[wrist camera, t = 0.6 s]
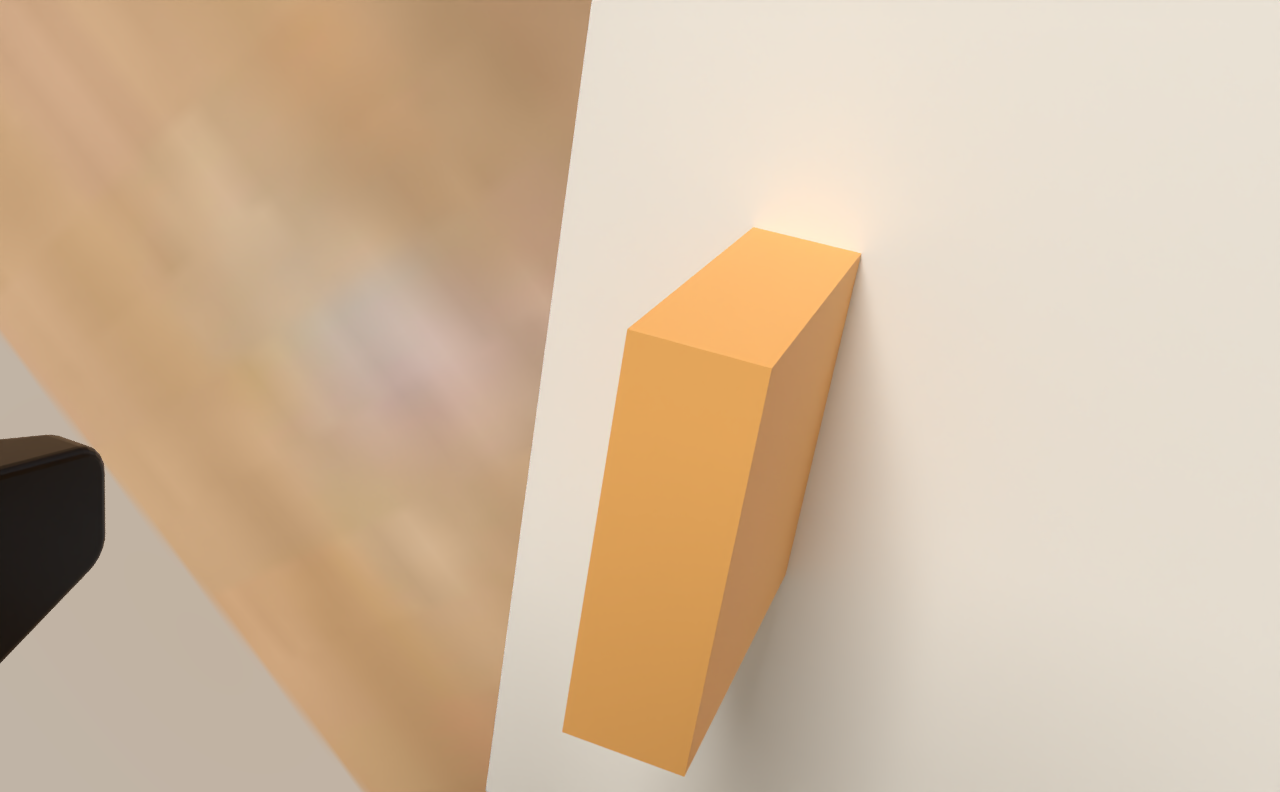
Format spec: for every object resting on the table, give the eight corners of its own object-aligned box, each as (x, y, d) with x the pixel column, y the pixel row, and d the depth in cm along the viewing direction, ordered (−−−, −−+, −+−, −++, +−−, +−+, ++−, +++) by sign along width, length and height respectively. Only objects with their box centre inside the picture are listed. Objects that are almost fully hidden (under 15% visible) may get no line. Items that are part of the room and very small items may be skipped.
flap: (1194, 1027, 15) (1227, 1416, 11) (503, 766, 18) (327, 1008, 14) (1741, -141, 10) (2179, -199, 6) (651, -288, 12) (434, -401, 8)
